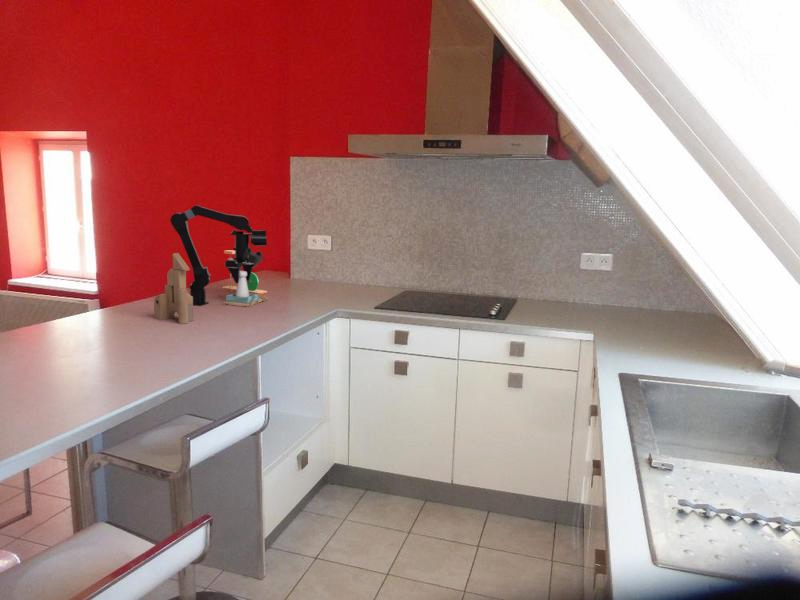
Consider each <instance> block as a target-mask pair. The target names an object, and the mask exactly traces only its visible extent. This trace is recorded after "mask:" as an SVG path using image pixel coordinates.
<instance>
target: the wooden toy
mask: <svg viewBox="0 0 800 600" xmlns="http://www.w3.org/2000/svg"><path fill="white" fill-rule="evenodd" d="M190 270H191V269H190V267H189V266H188V264H187V263H186V262H185V260H184V259H183V258H182V256H181V255H180V253H179V252H176V253H175V252H174V253H172V268H170V269H169V270H168V271H167V274H166V275H167V277H166V278H167V284H165V285H164V293H161V294H158V295H156V296H155V297H154V301H153V307H154V308H153V309H154V311H153V312H154V320H158V321H162V320H167V319H171V318H175V314H176V313H177V315H178V324H180V325H185V324H188V323H189V321H190V322H193V321H194V305H193V297H192V296H191V295H190V292H189V291H188V288H187V271H190Z"/></svg>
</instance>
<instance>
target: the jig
mask: <svg viewBox="0 0 800 600" xmlns="http://www.w3.org/2000/svg"><path fill="white" fill-rule="evenodd" d="M267 299H268V300H269V297H266V296H260V295H259V294H251V293H249V297H237V296H236V292H233V293H232V294H228V295H225V300H224V301H222V305H223V304H228V305H227V306H232V305H242V306H250V307H252V306H251V305H253V304H255V305H257V304H256V303H258V304H260V303H259V302H261V301H264V300H267ZM268 300H267V301H268ZM264 302H265V301H264ZM261 303H262V302H261ZM242 306H241V307H242ZM253 306H254V305H253Z"/></svg>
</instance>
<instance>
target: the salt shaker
mask: <svg viewBox="0 0 800 600" xmlns="http://www.w3.org/2000/svg"><path fill="white" fill-rule="evenodd" d="M246 276H247V272H246V271H244V270H240V273H239V282H238V283H236V286H237V290H236V292H235V293H236V296H237V297H249V291H248V286H247V281H246Z"/></svg>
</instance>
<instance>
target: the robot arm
mask: <svg viewBox="0 0 800 600" xmlns="http://www.w3.org/2000/svg"><path fill="white" fill-rule="evenodd" d="M196 216H200V217H204V218H207V219H209V220H210V219H211V220H213V221H217V222H221V223H224V224H226V225H229V226H230V227H233V228H234V229H233V230H232V231H231V232H230V236H234V242H235V243H234V247H233V248H232V250H234V251H235V254H234V256H235V257H233V258H232V259H233V260H228V259H226V261H225V262H224V267H225V268H226V269H227V270H228V271H229V274H230V273H231V278H233V280H234V282H235V284H237V283H238V282H239V273H240V271H242V269H243V271H246V272H247V276H246V280H249V279H250V276H251V272H252V273H253V269H254V268H255V267H256V266H258V264H261V261H262V260H264V255H263V252H262V251H257V252H254V251H252V248H251V247H250V244H251V245H253V247H266V246H267V241H268V239H267V238H268V237H267V230H266V229H261V230H260V229H259V230H258V229H257V230H254V229H253V227H251V225H250V222H249V219H248V218H247V217H246V216H244V215H239V214H238V215H237V214H229V213H224V212H221V211H217V210H214V209H210V208H207V207H202V206H201V205H194V206H192V208H190V209H187V210H186V211H184V212H175V213H174V214H172V215H171V217H170V224H171V225H172V227H173V229H174V231H175V232H176V233H177V234H178V236H179V238H180V240H181V242H182V245H183V248H184V250H185V252H186V255H187V258H188V259H189V262H190V264H191V268H192V273H193V279H194V280H193V281H192V282H191V284H190V285H189V289H190V290H189V294H190V295H191V296H192V297H193V306H203V305H207V304H209V301H206V300H207V299H206V298H207V295H206V288H205V287H207V286H208V285H209V283H210V280H211V276H212V274H211V273H210V272H209V268H208V266H205V267H204V265H203V264H202V262H201V259H200V257H199V254H198V252H197V249H196V248H195V245H194V242H193V240H192V237H191V235H190V231H189V224H188V221H189V220H191V219H193V218H194V217H196ZM236 229H237V230H236ZM244 231H245V232H246V233H245V232H244Z"/></svg>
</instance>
